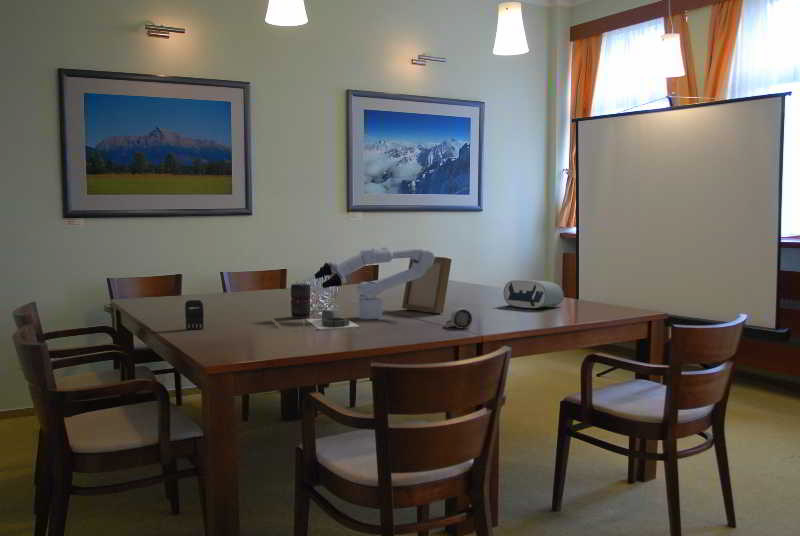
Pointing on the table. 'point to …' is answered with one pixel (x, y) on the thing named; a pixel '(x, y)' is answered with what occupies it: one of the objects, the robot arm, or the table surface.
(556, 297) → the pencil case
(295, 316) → the camera lens
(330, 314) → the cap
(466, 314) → the ceramic mug
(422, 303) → the photo frame
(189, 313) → the black battery charger
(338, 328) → the board
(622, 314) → the table surface
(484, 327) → the table surface
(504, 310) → the table surface
